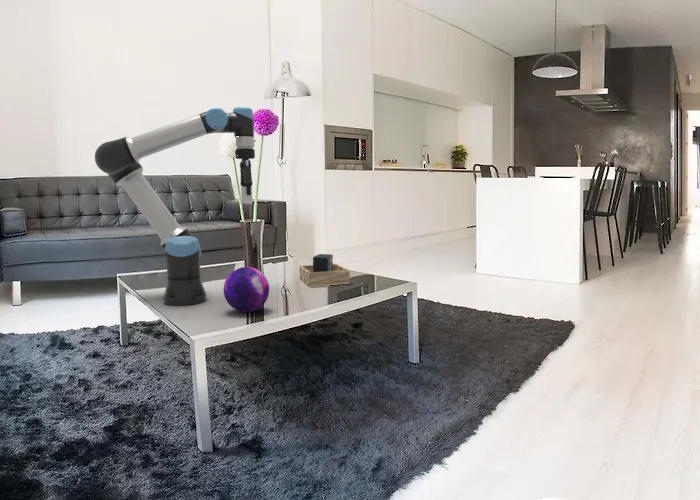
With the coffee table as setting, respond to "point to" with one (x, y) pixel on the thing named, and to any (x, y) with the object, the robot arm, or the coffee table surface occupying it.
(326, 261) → the small box
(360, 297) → the coffee table surface
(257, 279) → the decorative orb
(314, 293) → the coffee table surface
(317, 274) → the pine crate
